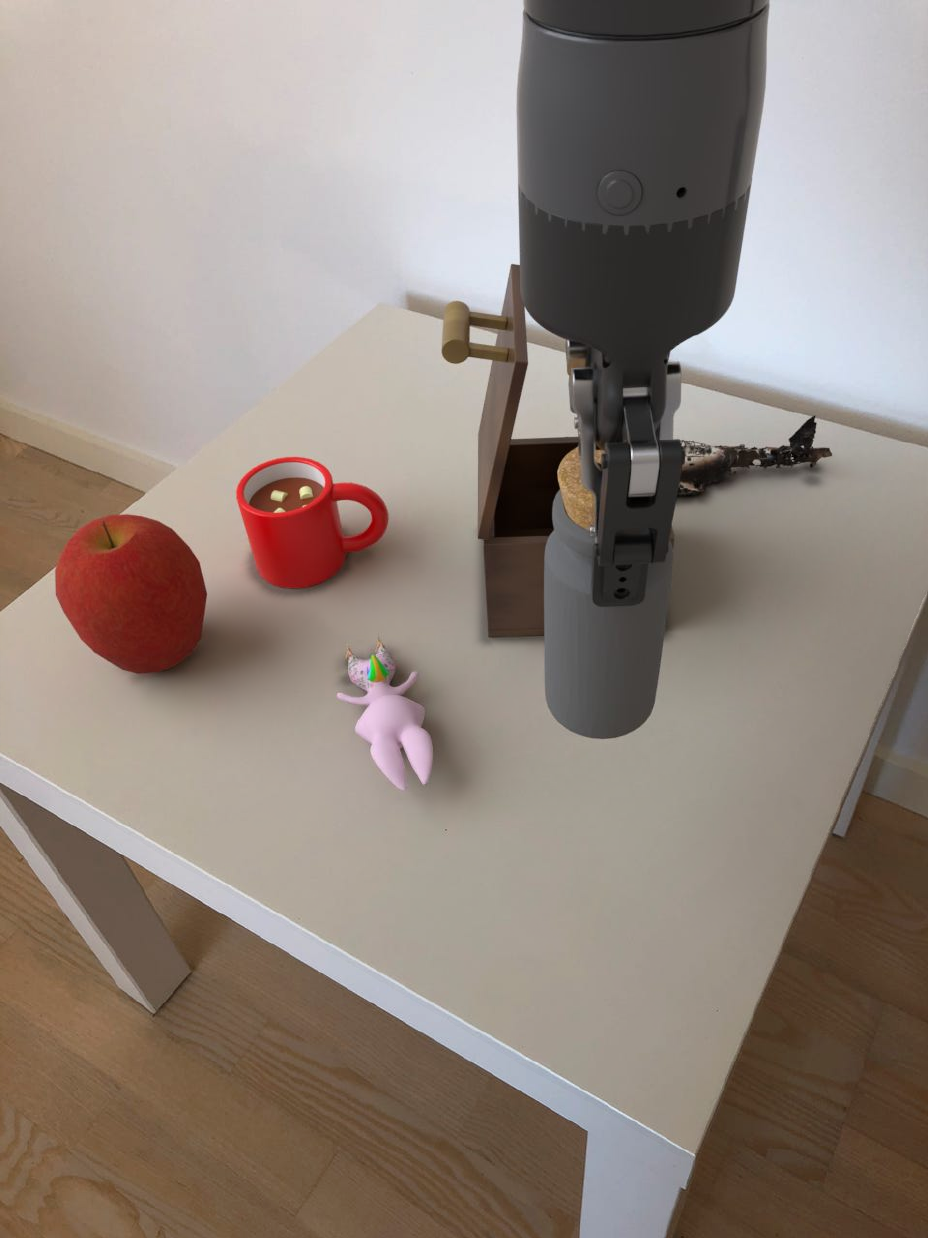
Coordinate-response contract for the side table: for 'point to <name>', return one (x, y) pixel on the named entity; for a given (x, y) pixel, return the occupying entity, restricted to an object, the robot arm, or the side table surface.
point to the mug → (302, 520)
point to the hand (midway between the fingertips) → (609, 548)
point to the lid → (492, 384)
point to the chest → (523, 536)
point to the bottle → (597, 626)
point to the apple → (132, 592)
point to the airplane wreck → (744, 458)
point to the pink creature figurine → (389, 718)
